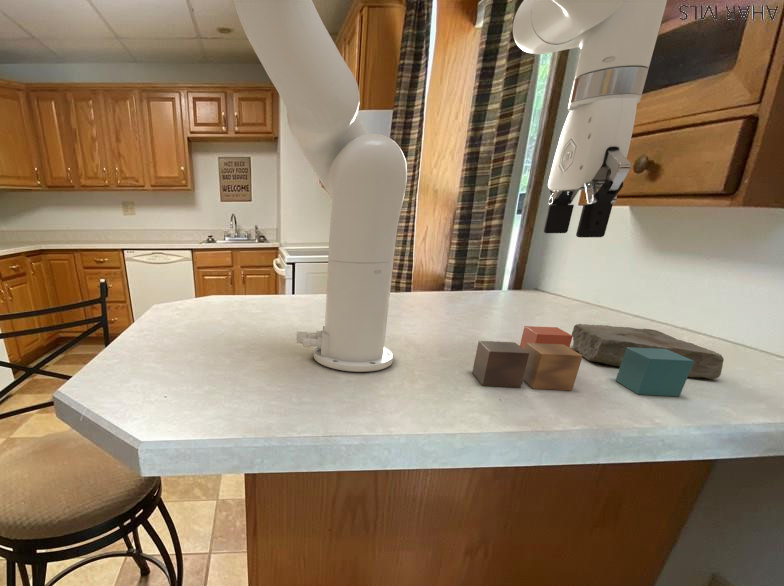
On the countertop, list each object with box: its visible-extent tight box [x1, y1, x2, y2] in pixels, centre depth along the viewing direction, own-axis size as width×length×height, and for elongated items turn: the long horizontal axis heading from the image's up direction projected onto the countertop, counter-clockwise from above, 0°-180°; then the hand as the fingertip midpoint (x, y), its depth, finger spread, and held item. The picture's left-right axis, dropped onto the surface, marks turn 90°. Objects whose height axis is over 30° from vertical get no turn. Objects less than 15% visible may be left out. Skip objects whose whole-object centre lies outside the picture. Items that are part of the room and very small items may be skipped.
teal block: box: [615, 347, 694, 397], centre depth 57 cm, size 5×5×5 cm
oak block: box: [523, 343, 583, 391], centre depth 59 cm, size 5×5×5 cm
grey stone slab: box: [571, 323, 724, 380], centre depth 68 cm, size 17×15×4 cm
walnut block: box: [471, 340, 529, 389], centre depth 59 cm, size 5×5×5 cm
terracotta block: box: [519, 325, 573, 350], centre depth 67 cm, size 5×5×5 cm
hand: (571, 234), depth 60 cm, fingers open, 9 cm apart
